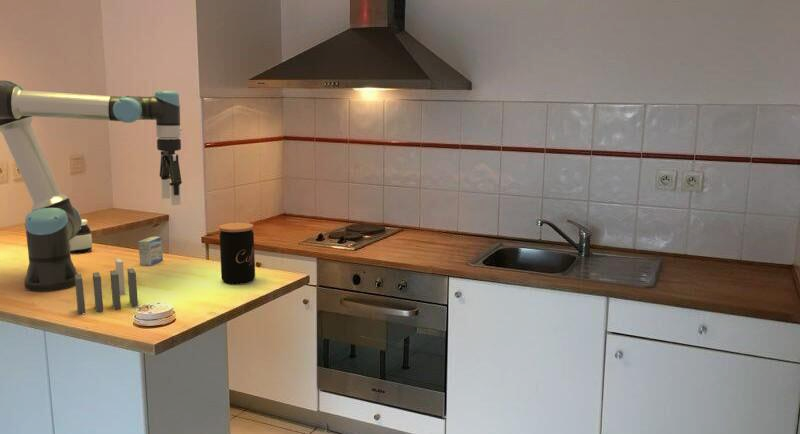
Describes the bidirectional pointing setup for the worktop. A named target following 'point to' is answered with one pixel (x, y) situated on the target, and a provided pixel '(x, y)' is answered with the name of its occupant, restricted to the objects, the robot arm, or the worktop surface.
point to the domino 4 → (115, 289)
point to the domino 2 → (98, 291)
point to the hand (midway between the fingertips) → (171, 201)
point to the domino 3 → (120, 274)
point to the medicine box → (150, 250)
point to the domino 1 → (80, 294)
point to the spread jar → (81, 239)
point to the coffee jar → (237, 253)
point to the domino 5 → (132, 287)
